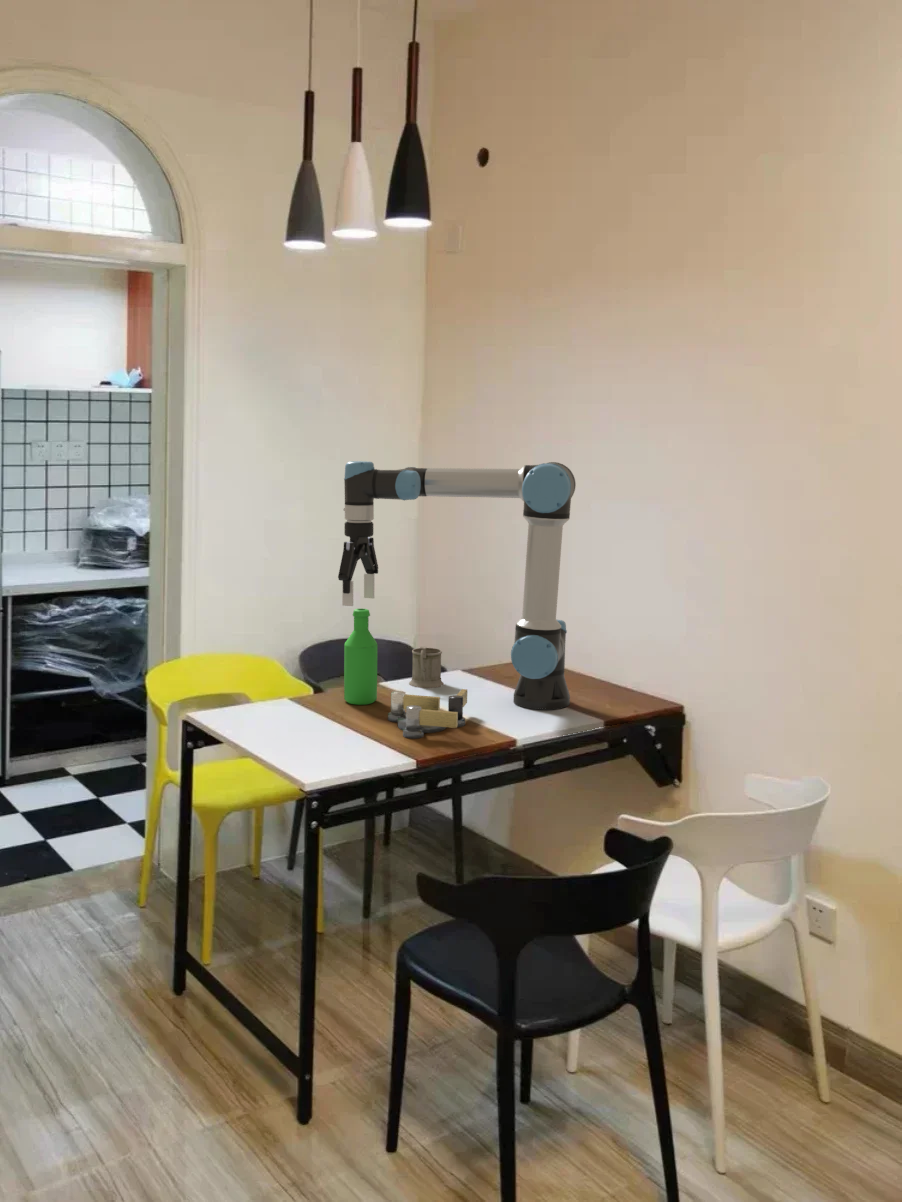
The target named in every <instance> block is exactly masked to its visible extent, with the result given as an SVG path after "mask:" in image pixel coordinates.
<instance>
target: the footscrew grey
mask: <svg viewBox="0 0 902 1202" xmlns="http://www.w3.org/2000/svg"><path fill="white" fill-rule="evenodd" d="M405 712H406V730H407V731H411V732H417V731H420V730H421V725H427V726H439V727H446V728H452V729H457V728H458V727H457V725H458V712H450V711H448V710H440V711H438V710H425V709H421V707H420V706H416V705H411V706H407V707H406V709H405Z"/></svg>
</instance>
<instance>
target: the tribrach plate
mask: <svg viewBox="0 0 902 1202" xmlns="http://www.w3.org/2000/svg"><path fill="white" fill-rule="evenodd" d="M387 721H389V722H392V723H397V728H398V729H399V730H401V731H402V736H403V737H404V738H405V739H414V740H415V739H421V738H424V737H425V734H432V733H433V734H434V733H439V732H442V731H444V730H446V728H447V727H439V726H427V725H421V730H420V731H417V732H411V731H407V730H406V711H405V714H403V715H401V716H395V715H391V711H390V712H388V713H387ZM465 726H466V718H465V717H463V719H462V720H458V725H457V728H461V727H465Z"/></svg>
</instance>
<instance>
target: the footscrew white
mask: <svg viewBox="0 0 902 1202" xmlns="http://www.w3.org/2000/svg"><path fill="white" fill-rule="evenodd" d="M411 705H416V706H420V707H421V709H425V710H438V711H441V709H440V707H441V696H430V695H420V694H419V695H417V694H406V691H403V690H394V691H391V693H390V712H391V715H395V716H401V715H403V714H405V712H406V707H407V706H411Z"/></svg>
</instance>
